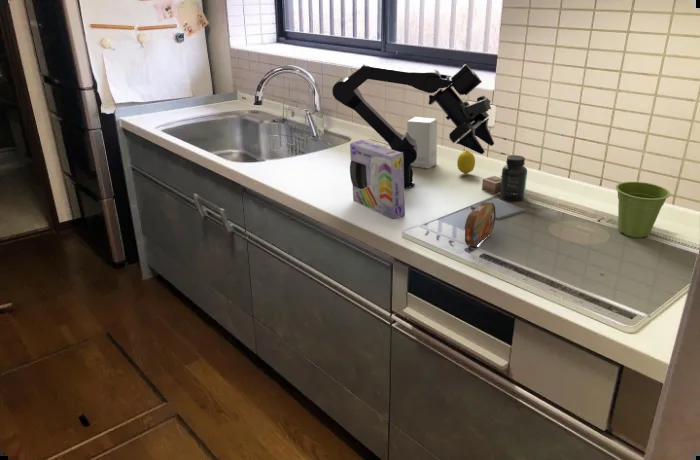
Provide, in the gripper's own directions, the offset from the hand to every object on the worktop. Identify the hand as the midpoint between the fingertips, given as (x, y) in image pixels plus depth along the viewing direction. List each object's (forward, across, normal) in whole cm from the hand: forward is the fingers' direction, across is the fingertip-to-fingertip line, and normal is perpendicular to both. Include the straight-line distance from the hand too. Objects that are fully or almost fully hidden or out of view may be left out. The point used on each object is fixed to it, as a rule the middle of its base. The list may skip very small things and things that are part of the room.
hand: (488, 149), depth 166 cm
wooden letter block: (+11, +4, +8) cm, 14 cm away
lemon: (+2, +14, +17) cm, 22 cm away
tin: (+16, -31, +4) cm, 35 cm away
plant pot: (+39, -10, -20) cm, 44 cm away
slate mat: (+14, -11, +5) cm, 18 cm away
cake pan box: (-7, -24, +26) cm, 36 cm away
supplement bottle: (+15, 0, +4) cm, 16 cm away
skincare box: (-9, +17, +29) cm, 35 cm away
